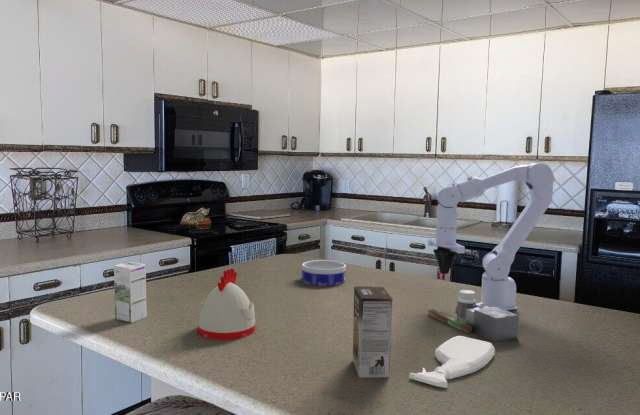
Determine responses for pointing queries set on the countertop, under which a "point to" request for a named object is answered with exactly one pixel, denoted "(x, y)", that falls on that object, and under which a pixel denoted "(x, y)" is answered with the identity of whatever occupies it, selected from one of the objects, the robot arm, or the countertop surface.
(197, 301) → the countertop surface
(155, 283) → the countertop surface
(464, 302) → the pill bottle
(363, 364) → the coffee box
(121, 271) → the syrup box
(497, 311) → the block
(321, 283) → the dog bowl
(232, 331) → the kitchen timer
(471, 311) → the small grey block
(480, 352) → the spray bottle
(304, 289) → the countertop surface
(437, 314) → the gauge rails
